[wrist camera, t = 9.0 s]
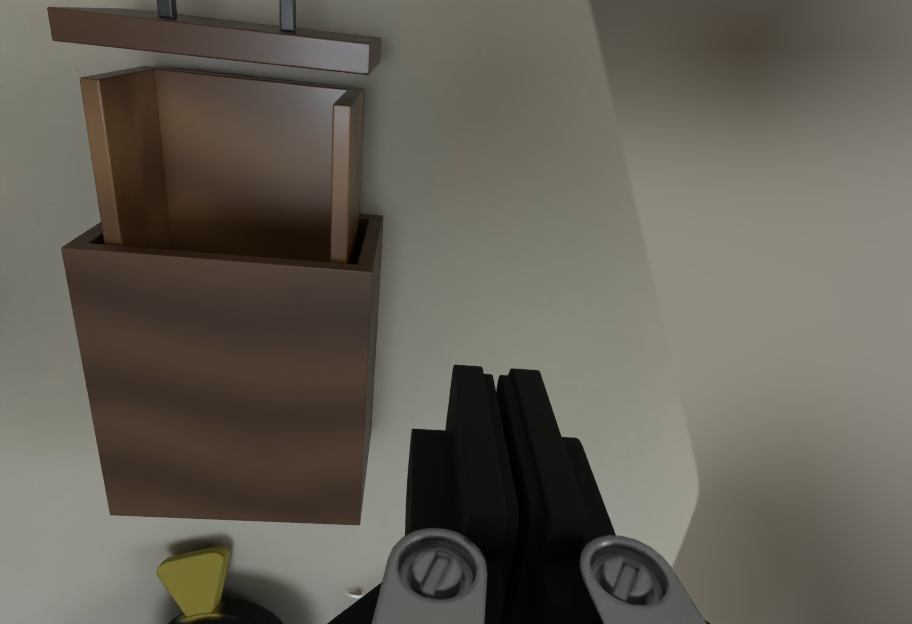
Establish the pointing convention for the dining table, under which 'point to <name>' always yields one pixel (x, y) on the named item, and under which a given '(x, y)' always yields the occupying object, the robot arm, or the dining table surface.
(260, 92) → the pull-out drawer box
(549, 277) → the dining table surface
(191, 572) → the alarm clock
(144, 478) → the cabinet
